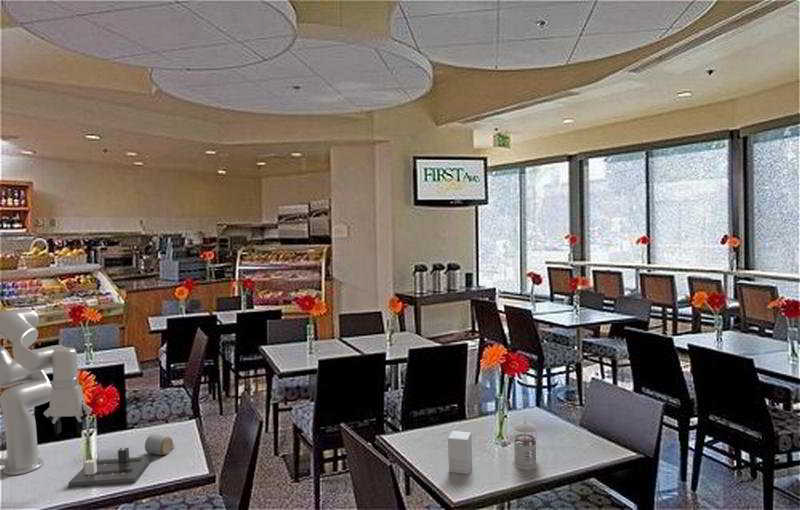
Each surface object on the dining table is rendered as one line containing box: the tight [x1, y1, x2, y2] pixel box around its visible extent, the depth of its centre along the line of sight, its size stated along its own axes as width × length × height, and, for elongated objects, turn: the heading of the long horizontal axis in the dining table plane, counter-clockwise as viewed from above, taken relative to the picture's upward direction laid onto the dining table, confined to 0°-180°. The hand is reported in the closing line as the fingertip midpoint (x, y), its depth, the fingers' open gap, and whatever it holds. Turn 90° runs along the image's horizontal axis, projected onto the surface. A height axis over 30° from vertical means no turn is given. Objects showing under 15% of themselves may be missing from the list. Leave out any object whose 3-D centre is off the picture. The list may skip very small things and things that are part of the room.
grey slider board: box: [68, 455, 153, 489], centre depth 205 cm, size 22×18×2 cm
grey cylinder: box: [144, 432, 176, 456], centre depth 224 cm, size 11×8×8 cm
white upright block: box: [84, 459, 97, 475], centre depth 201 cm, size 3×2×5 cm
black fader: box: [117, 447, 130, 462], centre depth 211 cm, size 3×2×5 cm
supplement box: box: [447, 430, 473, 475], centre depth 202 cm, size 7×7×13 cm
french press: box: [511, 396, 540, 471], centre depth 206 cm, size 10×12×25 cm
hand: (69, 432), depth 200 cm, fingers open, 6 cm apart
